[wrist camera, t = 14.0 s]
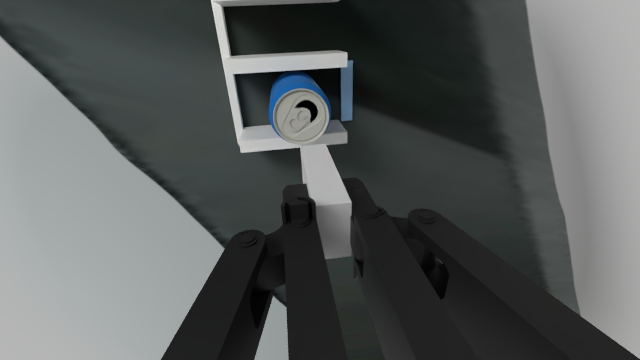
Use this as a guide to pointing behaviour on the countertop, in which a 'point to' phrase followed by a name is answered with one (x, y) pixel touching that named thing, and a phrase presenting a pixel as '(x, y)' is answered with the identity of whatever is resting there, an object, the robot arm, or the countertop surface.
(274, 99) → the beverage can
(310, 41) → the countertop surface
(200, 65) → the countertop surface
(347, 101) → the blue bezel
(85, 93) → the countertop surface
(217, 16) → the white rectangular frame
